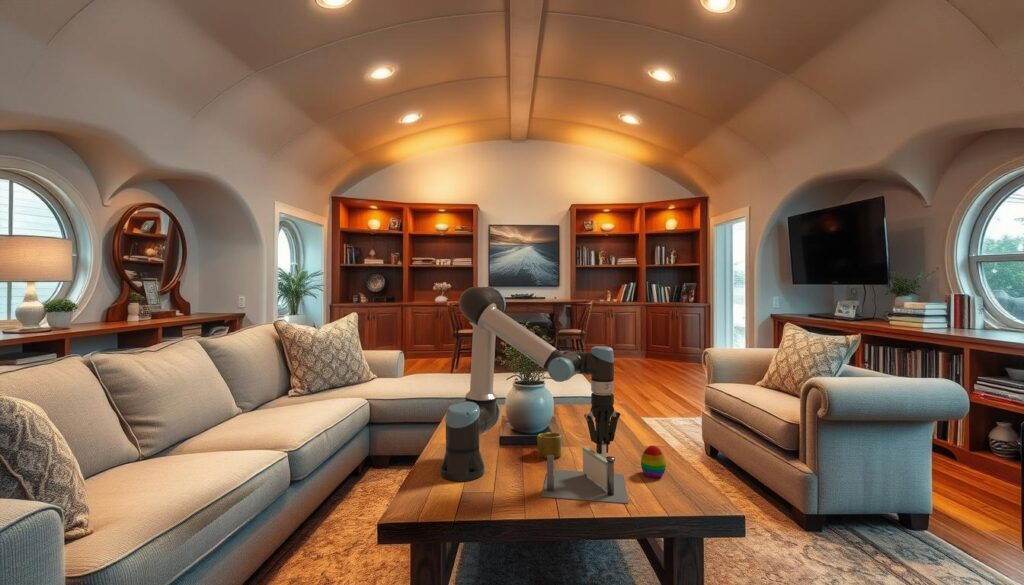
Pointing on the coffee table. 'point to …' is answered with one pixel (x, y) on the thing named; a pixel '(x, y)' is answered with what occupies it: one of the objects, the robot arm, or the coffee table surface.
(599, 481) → the gate
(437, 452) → the coffee table surface
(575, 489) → the mat
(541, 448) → the mug
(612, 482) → the hinge post
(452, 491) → the coffee table surface
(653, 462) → the decorative egg
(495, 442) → the coffee table surface
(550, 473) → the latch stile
